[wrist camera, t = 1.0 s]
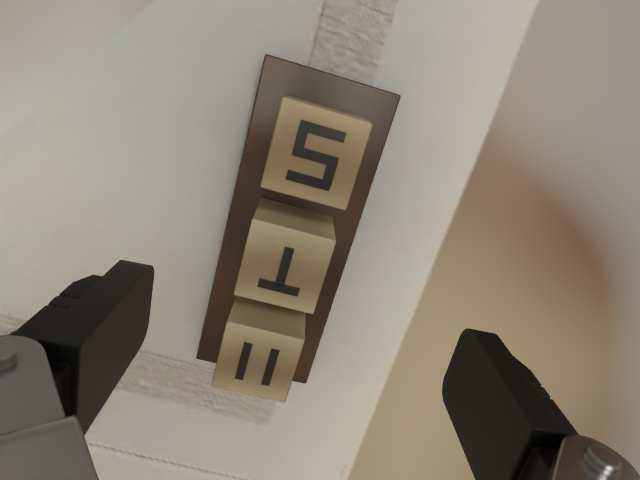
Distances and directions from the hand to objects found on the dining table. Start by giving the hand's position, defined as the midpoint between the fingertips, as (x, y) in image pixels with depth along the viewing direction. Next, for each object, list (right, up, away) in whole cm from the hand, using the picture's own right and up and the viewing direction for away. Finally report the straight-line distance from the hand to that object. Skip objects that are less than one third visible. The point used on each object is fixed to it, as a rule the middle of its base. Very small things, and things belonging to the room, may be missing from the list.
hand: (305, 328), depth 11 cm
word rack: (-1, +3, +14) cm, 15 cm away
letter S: (0, +7, +12) cm, 14 cm away
